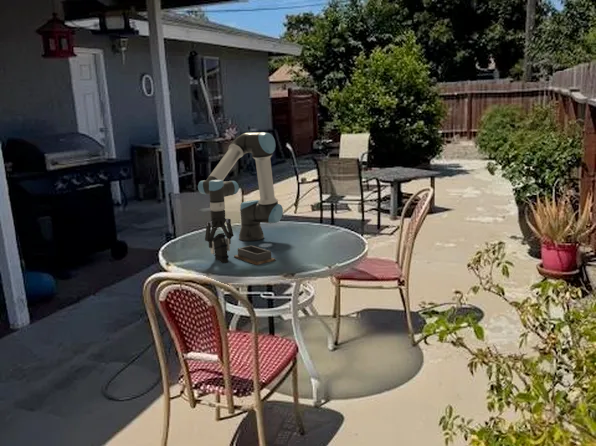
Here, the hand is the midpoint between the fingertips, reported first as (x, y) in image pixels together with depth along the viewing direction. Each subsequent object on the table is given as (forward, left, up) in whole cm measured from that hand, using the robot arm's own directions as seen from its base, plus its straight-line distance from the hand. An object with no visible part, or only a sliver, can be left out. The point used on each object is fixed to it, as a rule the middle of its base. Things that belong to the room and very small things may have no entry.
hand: (220, 252), depth 293 cm
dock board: (-14, +11, -4) cm, 18 cm away
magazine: (0, 0, -5) cm, 5 cm away
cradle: (-14, +11, -3) cm, 18 cm away
